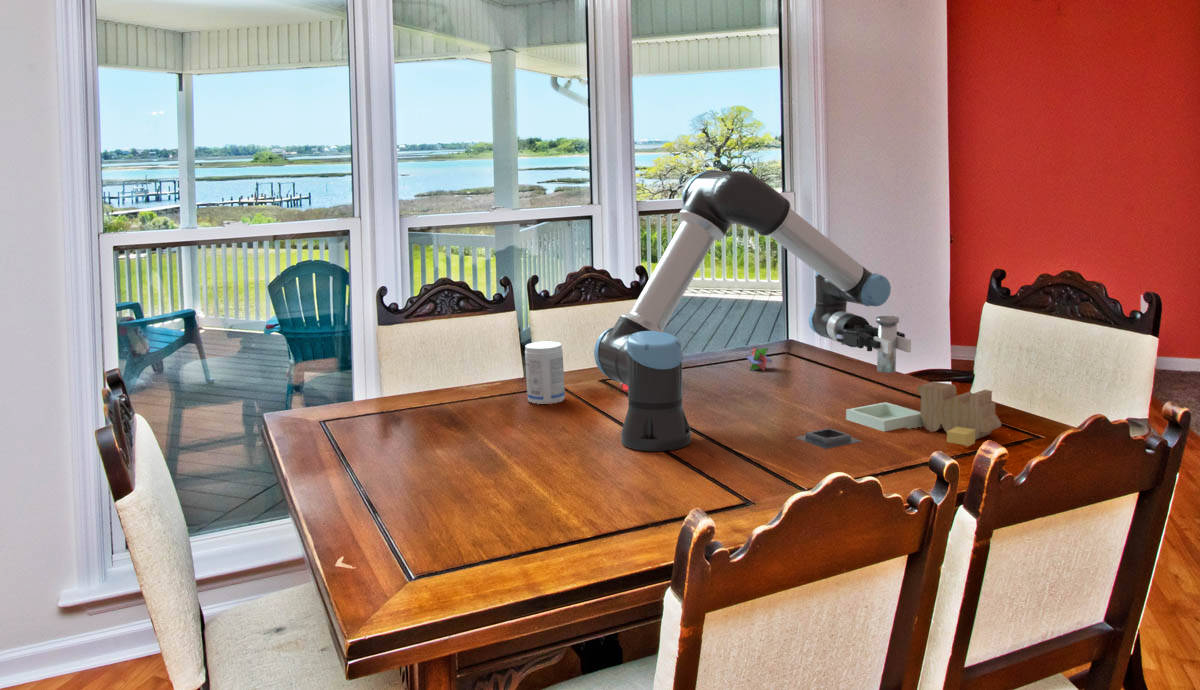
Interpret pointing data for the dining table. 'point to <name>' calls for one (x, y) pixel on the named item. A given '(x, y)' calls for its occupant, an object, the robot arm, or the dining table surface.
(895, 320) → the pin
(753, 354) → the geometric puzzle
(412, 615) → the dining table surface
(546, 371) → the supplement tub
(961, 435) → the tan rectangular block
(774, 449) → the dining table surface
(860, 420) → the tray
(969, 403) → the toy train
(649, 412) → the robot arm
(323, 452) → the dining table surface
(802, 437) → the collar plate
